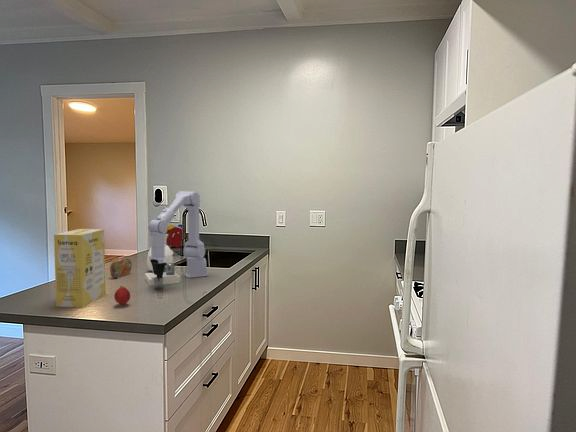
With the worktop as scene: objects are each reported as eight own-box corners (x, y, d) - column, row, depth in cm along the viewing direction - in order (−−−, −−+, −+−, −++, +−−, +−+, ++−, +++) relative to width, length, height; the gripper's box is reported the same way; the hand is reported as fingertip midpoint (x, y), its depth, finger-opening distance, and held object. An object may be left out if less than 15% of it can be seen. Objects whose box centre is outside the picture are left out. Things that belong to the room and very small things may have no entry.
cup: (176, 268, 229) (176, 244, 228) (167, 274, 216) (167, 248, 215) (153, 267, 230) (153, 243, 229) (142, 273, 217) (142, 247, 216)
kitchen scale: (173, 276, 211) (173, 264, 211) (180, 283, 198) (179, 269, 198) (144, 279, 205) (144, 266, 204) (149, 286, 192) (149, 272, 191)
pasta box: (81, 293, 178) (79, 228, 176) (105, 294, 178) (104, 229, 175) (56, 306, 160) (53, 234, 157) (83, 307, 160) (81, 235, 157)
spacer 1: (162, 287, 191) (162, 276, 190) (163, 289, 187) (163, 278, 187) (153, 287, 189) (153, 277, 188) (154, 290, 185) (154, 279, 185)
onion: (117, 303, 165) (116, 283, 165) (132, 303, 166) (131, 283, 165) (112, 307, 160) (112, 287, 159) (127, 307, 160) (127, 287, 159)
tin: (114, 279, 203) (114, 262, 202) (109, 279, 204) (108, 262, 203) (132, 273, 218) (131, 257, 217) (126, 272, 218) (126, 256, 218)
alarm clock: (183, 245, 306) (183, 218, 304) (189, 247, 299) (188, 219, 298) (164, 247, 296) (164, 219, 295) (169, 249, 290) (169, 221, 288)
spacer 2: (173, 272, 204) (173, 262, 203) (175, 274, 200) (175, 264, 199) (165, 273, 202) (165, 263, 201) (166, 275, 198) (166, 265, 198)
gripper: (146, 244, 191) (146, 273, 192) (151, 249, 178) (151, 280, 179) (162, 243, 194) (162, 272, 195) (168, 248, 181) (168, 279, 182)
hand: (158, 276), depth 187 cm, fingers open, 7 cm apart
